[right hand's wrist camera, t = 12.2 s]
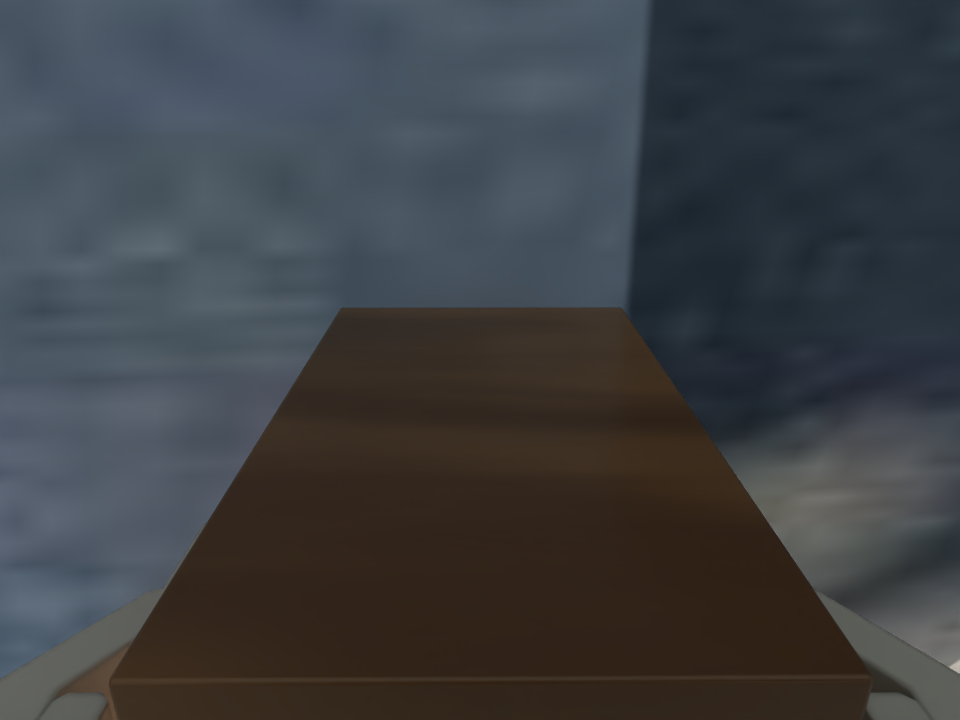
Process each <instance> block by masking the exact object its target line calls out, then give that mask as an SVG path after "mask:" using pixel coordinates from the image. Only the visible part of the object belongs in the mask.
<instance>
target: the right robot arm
mask: <svg viewBox="0 0 960 720" xmlns="http://www.w3.org/2000/svg"><path fill="white" fill-rule="evenodd" d="M206 524H207V523H205V524H204V525H203V526H202V528H201V529H200V531H199V532H198V534H197V535H196V537H195V539H194V540H193V542H192V543H191V545H190V546H189V548H188V549H187V551H186V553H185V554H184V556H183V557H182V559H181V560H180V562H179V564H178V565H177V567H176V568H175V570H174V571H173V573H172V574H171V576H170V578H169V579H168V581H167V582H166V584H165V585H164V587H163V589H162V590H150V591H149V592H147V593H145V594H144V595H142V596H140V597H139V598H137V599H135V600H133V601H132V602H130V603H128V604H127V605H125V606H123V607H122V608H120V609H118V610H116V611H115V612H113V613H111V614H110V615H108V616H106V617H105V618H103V619H101V620H99V621H98V622H96V623H94V624H93V625H91V626H89V627H88V628H86V629H84V630H83V631H81V632H79V633H77V634H76V635H74V636H72V637H71V638H69V639H67V640H66V641H64V642H62V643H60V644H59V645H57V646H55V647H54V648H52V649H50V650H49V651H47V652H45V653H43V654H42V655H40V656H38V657H37V658H35V659H33V660H32V661H30V662H28V663H27V664H25V665H23V666H21V667H20V668H18V669H16V670H15V671H13V672H11V673H10V674H8V675H6V676H4V677H3V678H1V679H0V720H117V716H116V712H115V708H114V704H113V701H112V697H111V693H110V689H109V680H110V677H111V676H112V674H113V672H114V671H115V669H116V668H117V666H118V664H119V663H120V661H121V660H122V658H123V656H124V655H125V653H126V652H127V650H128V648H129V647H130V645H131V644H132V642H133V640H134V639H135V637H136V636H137V634H138V632H139V631H140V629H141V628H142V626H143V624H144V623H145V621H146V620H147V618H148V616H149V615H150V613H151V612H152V610H153V608H154V607H155V605H156V604H157V602H158V600H159V599H160V597H161V596H162V594H163V592H164V591H165V589H166V588H167V586H168V584H169V583H170V581H171V580H172V578H173V576H174V575H175V573H176V572H177V570H178V568H179V567H180V565H181V564H182V562H183V560H184V559H185V557H186V556H187V554H188V552H189V551H190V549H191V548H192V546H193V544H194V543H195V541H196V540H197V538H198V536H199V535H200V533H201V532H202V530H203V528H204V527H205V525H206ZM814 591H815V592H816V594H817V595H818V597H819V598H820V600H821V601H822V603H823V604H824V606H825V607H826V608H827V610H828V611H829V613H830V614H831V616H832V617H833V619H834V620H835V622H836V623H837V625H838V626H839V628H840V629H841V630H842V632H843V633H844V635H845V636H846V638H847V639H848V641H849V642H850V644H851V645H852V647H853V648H854V650H855V651H856V653H857V654H858V655H859V657H860V658H861V660H862V661H863V663H864V664H865V666H866V667H867V669H868V670H869V672H870V673H871V675H872V678H873V685H872V689H871V692H870V696H869V699H868V703H867V706H866V710H865V714H864V717H863V720H960V674H959V673H957V672H955V671H954V670H952V669H950V668H949V667H947V666H945V665H943V664H942V663H940V662H938V661H937V660H935V659H933V658H931V657H930V656H928V655H926V654H925V653H923V652H921V651H919V650H918V649H916V648H914V647H913V646H911V645H909V644H908V643H906V642H904V641H902V640H901V639H899V638H897V637H896V636H894V635H892V634H890V633H889V632H887V631H885V630H884V629H882V628H880V627H878V626H877V625H875V624H873V623H872V622H870V621H868V620H867V619H865V618H863V617H861V616H860V615H858V614H856V613H855V612H853V611H851V610H849V609H848V608H846V607H844V606H843V605H841V604H839V603H837V602H836V601H834V600H832V599H831V598H829V597H827V596H826V595H824V594H822V593H820V592H819V591H817V590H814Z"/></svg>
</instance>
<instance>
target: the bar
mask: <svg viewBox="0 0 960 720" xmlns="http://www.w3.org/2000/svg"><path fill="white" fill-rule="evenodd" d="M872 685H873V678H872V675H871V673H870V672H869V670H868V669H867V667H866V666H865V664H864V663H863V661H862V660H861V658H860V657H859V655H858V654H857V653H856V651H855V650H854V648H853V647H852V645H851V644H850V642H849V641H848V639H847V638H846V636H845V635H844V633H843V632H842V630H841V629H840V628H839V626H838V625H837V623H836V622H835V620H834V619H833V617H832V616H831V614H830V613H829V611H828V610H827V608H826V607H825V606H824V604H823V603H822V601H821V600H820V598H819V597H818V595H817V594H816V592H815V591H814V589H813V588H812V586H811V585H810V583H809V582H808V581H807V579H806V578H805V576H804V575H803V573H802V572H801V570H800V569H799V567H798V566H797V564H796V563H795V561H794V560H793V559H792V557H791V556H790V554H789V553H788V551H787V550H786V548H785V547H784V545H783V544H782V542H781V541H780V539H779V538H778V537H777V535H776V534H775V532H774V531H773V529H772V528H771V526H770V525H769V523H768V522H767V520H766V519H765V517H764V516H763V514H762V513H761V512H760V510H759V509H758V507H757V506H756V504H755V503H754V501H753V500H752V498H751V497H750V495H749V494H748V492H747V491H746V490H745V488H744V487H743V485H742V484H741V482H740V481H739V479H738V478H737V476H736V475H735V473H734V472H733V470H732V469H731V468H730V466H729V465H728V463H727V462H726V460H725V459H724V457H723V456H722V454H721V453H720V451H719V450H718V448H717V447H716V445H715V444H714V443H713V441H712V440H711V438H710V437H709V435H708V434H707V432H706V431H705V429H704V428H703V426H702V425H701V423H700V422H699V421H698V419H697V418H696V416H695V415H694V413H693V412H692V410H691V409H690V407H689V406H688V404H687V403H686V401H685V400H684V399H683V397H682V396H681V394H680V393H679V391H678V390H677V388H676V387H675V385H674V384H673V382H672V381H671V379H670V378H669V376H668V375H667V374H666V372H665V371H664V369H663V368H662V366H661V365H660V363H659V362H658V360H657V359H656V357H655V356H654V354H653V353H652V352H651V350H650V349H649V347H648V346H647V344H646V343H645V341H644V340H643V338H642V337H641V335H640V334H639V332H638V331H637V329H636V328H635V327H634V325H633V324H632V322H631V321H630V319H629V318H628V316H627V315H626V313H625V312H624V310H623V309H622V308H341V309H340V311H339V312H338V314H337V315H336V317H335V319H334V320H333V322H332V323H331V325H330V327H329V328H328V330H327V331H326V333H325V335H324V336H323V338H322V339H321V341H320V343H319V344H318V346H317V347H316V349H315V351H314V352H313V354H312V356H311V357H310V359H309V360H308V362H307V364H306V365H305V367H304V368H303V370H302V372H301V373H300V375H299V376H298V378H297V380H296V381H295V383H294V384H293V386H292V388H291V389H290V391H289V392H288V394H287V396H286V397H285V399H284V400H283V402H282V404H281V405H280V407H279V408H278V410H277V412H276V413H275V415H274V416H273V418H272V420H271V421H270V423H269V424H268V426H267V428H266V429H265V431H264V432H263V434H262V436H261V437H260V439H259V440H258V442H257V444H256V445H255V447H254V448H253V450H252V452H251V453H250V455H249V456H248V458H247V460H246V461H245V463H244V464H243V466H242V468H241V469H240V471H239V472H238V474H237V476H236V477H235V479H234V480H233V482H232V484H231V485H230V487H229V488H228V490H227V492H226V493H225V495H224V496H223V498H222V500H221V501H220V503H219V504H218V506H217V508H216V509H215V511H214V512H213V514H212V516H211V517H210V519H209V520H208V522H207V524H206V525H205V527H204V528H203V530H202V532H201V533H200V535H199V536H198V538H197V540H196V541H195V543H194V544H193V546H192V548H191V549H190V551H189V552H188V554H187V556H186V557H185V559H184V560H183V562H182V564H181V565H180V567H179V568H178V570H177V572H176V573H175V575H174V576H173V578H172V580H171V581H170V583H169V584H168V586H167V588H166V589H165V591H164V592H163V594H162V596H161V597H160V599H159V600H158V602H157V604H156V605H155V607H154V608H153V610H152V612H151V613H150V615H149V616H148V618H147V620H146V621H145V623H144V624H143V626H142V628H141V629H140V631H139V632H138V634H137V636H136V637H135V639H134V640H133V642H132V644H131V645H130V647H129V648H128V650H127V652H126V653H125V655H124V656H123V658H122V660H121V661H120V663H119V664H118V666H117V668H116V669H115V671H114V672H113V674H112V676H111V677H110V680H109V689H110V693H111V697H112V701H113V704H114V708H115V712H116V716H117V720H863V717H864V714H865V710H866V706H867V703H868V699H869V696H870V692H871V689H872Z"/></svg>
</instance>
